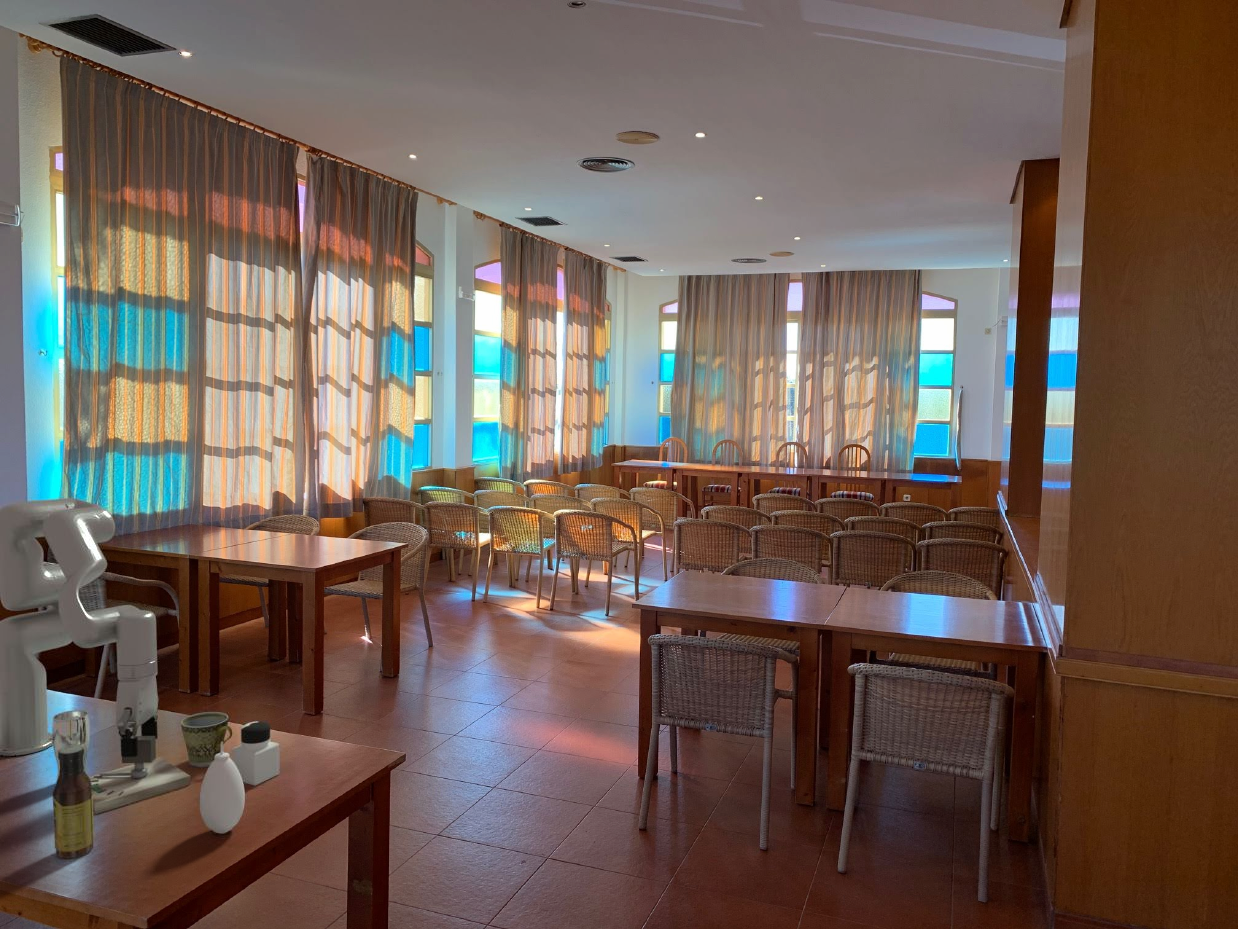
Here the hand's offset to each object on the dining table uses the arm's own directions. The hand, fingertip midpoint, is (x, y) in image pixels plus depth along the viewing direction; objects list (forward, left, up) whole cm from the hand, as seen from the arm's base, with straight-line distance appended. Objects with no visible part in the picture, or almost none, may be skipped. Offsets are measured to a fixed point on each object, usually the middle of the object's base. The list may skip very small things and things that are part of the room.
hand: (139, 747), depth 195 cm
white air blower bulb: (+33, +2, -9) cm, 34 cm away
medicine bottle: (+14, +19, -9) cm, 25 cm away
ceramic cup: (-1, +16, -9) cm, 18 cm away
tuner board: (0, -2, -9) cm, 9 cm away
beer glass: (-12, -9, -9) cm, 18 cm away
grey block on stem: (-2, -2, -6) cm, 7 cm away
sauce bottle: (+21, -20, -9) cm, 30 cm away
